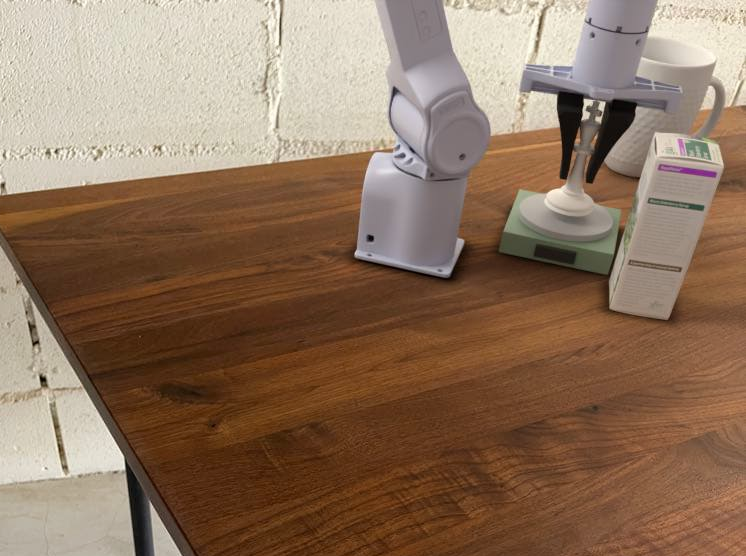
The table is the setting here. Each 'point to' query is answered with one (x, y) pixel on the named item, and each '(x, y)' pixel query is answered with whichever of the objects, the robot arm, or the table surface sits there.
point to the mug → (694, 76)
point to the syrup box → (664, 224)
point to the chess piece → (577, 172)
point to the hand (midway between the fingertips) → (575, 177)
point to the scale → (561, 234)
